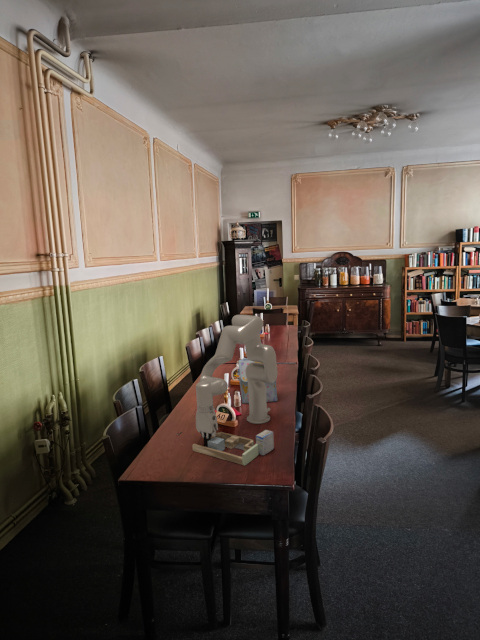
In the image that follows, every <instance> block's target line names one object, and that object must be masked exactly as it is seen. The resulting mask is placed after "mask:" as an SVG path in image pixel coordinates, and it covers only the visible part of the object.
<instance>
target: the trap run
mask: <svg viewBox="0 0 480 640" xmlns="http://www.w3.org/2000/svg"><path fill="white" fill-rule="evenodd" d="M216 434H217V435H215V436H212V437H211V439H212V438H214V437H218V438H222V439H224V440H225V441H224V444H225V448H226V447H227V448H228V449H230V450H232V449H234V447H235V446H236V445H238V444H239V443H240V444H244V445H245V446H244V450H243V453H244V452H246V451H247V450H248V449H250V448H251V447H252V446H254V445H255V442H254V441H255V440H254V439H251V438H247V437H244V436H241V435H240V436H239V435H235V434H231V433H226V432H223V431H220V432H216ZM191 448H192V451H193V452H196V453H200V454H203V455H206V456H209V457H214V458H216V459H221V460H224V461H228V462H231V463H234V464H237V465H241V466H244V465H243V462H242V455H241V456H239V455H236V454H233V453H231V452H230V453H229V452H225V451H219V450H215V449H212V448H208V447H206V446H204V445H200V444H197V443H193V444H192V446H191ZM227 448H226V449H227Z"/></svg>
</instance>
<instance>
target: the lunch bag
mask: <svg viewBox="0 0 480 640" xmlns="http://www.w3.org/2000/svg"><path fill="white" fill-rule="evenodd" d="M252 362H254V361H250V360H248V358H247V357H242V359H239V360H238V363H237V364H238V368H239V380H238V381H239V388H240V397H241V402H242V403H241V404H249V392H248V381H247V377H246V367H247V365H248V364H250V363H252ZM257 363H260V362H257ZM264 383H265V386H266V400H267V402H268V403H269V402H270V403H271V402H278V393H277V392H278V391H277V390H278V389H277V380H276V381H275V382H273V383H266V382H264Z"/></svg>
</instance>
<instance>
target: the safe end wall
mask: <svg viewBox="0 0 480 640" xmlns="http://www.w3.org/2000/svg"><path fill="white" fill-rule="evenodd" d="M258 456H260V454H259V446H258V444H256V443H254V446H252V447H251V448H250V449H248V450H247V451H246V452H244V451H243V453H242V454H241V457H242V462H243V465H242V466H247V465H248V464H249V463H251V462H252V461H253V460H254V459H255V458H257V457H258Z"/></svg>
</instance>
